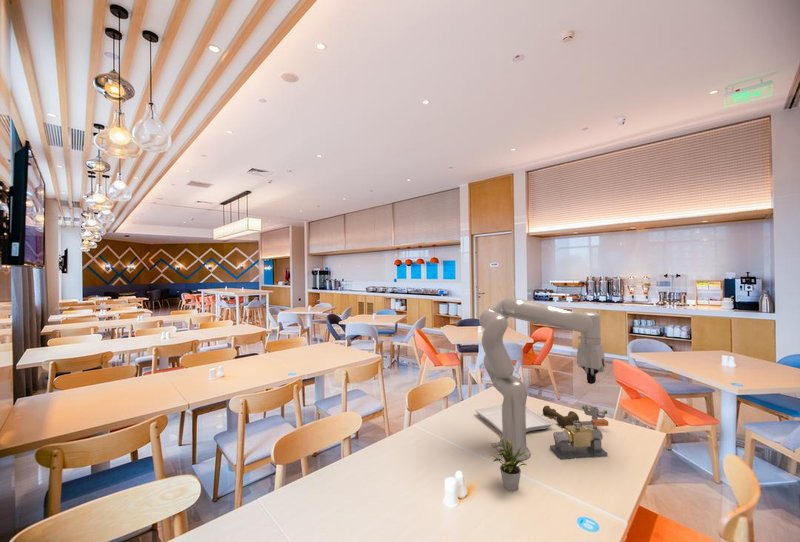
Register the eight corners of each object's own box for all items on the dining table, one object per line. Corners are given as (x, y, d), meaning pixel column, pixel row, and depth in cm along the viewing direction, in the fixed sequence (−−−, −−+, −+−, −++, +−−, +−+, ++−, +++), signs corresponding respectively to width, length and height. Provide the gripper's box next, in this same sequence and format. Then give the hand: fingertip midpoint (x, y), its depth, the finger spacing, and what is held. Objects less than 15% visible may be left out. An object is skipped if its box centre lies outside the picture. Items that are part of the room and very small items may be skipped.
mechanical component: (607, 432, 158) (606, 411, 157) (582, 426, 164) (581, 406, 164) (607, 430, 160) (607, 409, 160) (583, 424, 166) (582, 404, 166)
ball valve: (560, 459, 137) (559, 431, 137) (550, 449, 145) (549, 422, 145) (607, 456, 138) (606, 429, 138) (594, 446, 146) (594, 420, 146)
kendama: (552, 413, 181) (586, 428, 162) (538, 417, 177) (572, 433, 158) (551, 402, 181) (585, 415, 162) (538, 406, 177) (571, 420, 158)
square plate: (474, 416, 179) (474, 409, 179) (518, 408, 187) (518, 401, 187) (504, 440, 153) (504, 432, 153) (554, 430, 162) (554, 422, 162)
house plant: (479, 477, 126) (478, 434, 126) (509, 469, 131) (508, 427, 131) (503, 502, 113) (502, 453, 113) (536, 491, 118) (535, 444, 118)
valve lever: (575, 427, 140) (575, 422, 140) (571, 424, 143) (571, 419, 143) (609, 426, 140) (608, 421, 140) (604, 422, 144) (603, 417, 144)
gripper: (569, 339, 151) (569, 380, 151) (603, 345, 138) (604, 389, 139) (579, 337, 155) (579, 376, 155) (613, 342, 142) (614, 386, 142)
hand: (591, 382), depth 147 cm, fingers closed
